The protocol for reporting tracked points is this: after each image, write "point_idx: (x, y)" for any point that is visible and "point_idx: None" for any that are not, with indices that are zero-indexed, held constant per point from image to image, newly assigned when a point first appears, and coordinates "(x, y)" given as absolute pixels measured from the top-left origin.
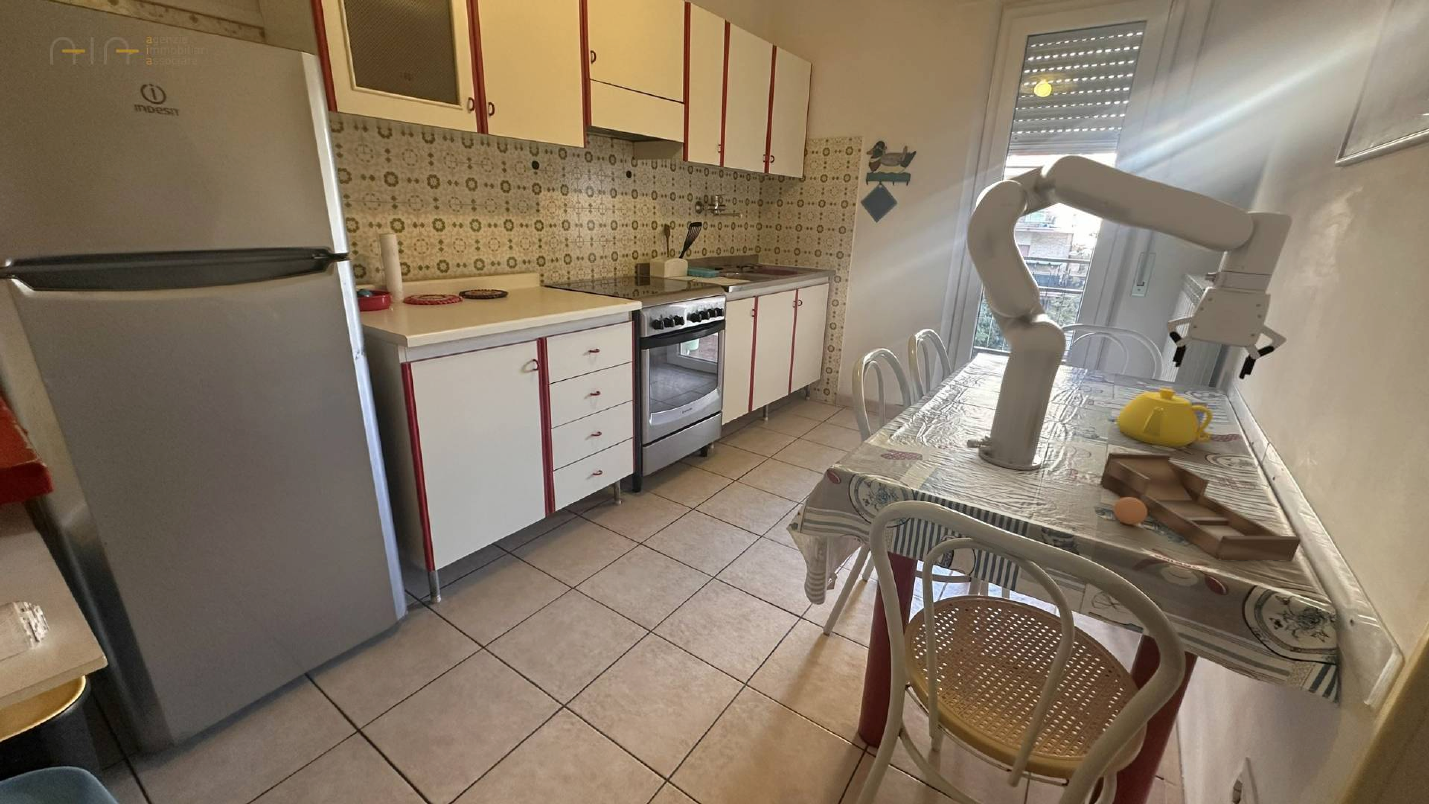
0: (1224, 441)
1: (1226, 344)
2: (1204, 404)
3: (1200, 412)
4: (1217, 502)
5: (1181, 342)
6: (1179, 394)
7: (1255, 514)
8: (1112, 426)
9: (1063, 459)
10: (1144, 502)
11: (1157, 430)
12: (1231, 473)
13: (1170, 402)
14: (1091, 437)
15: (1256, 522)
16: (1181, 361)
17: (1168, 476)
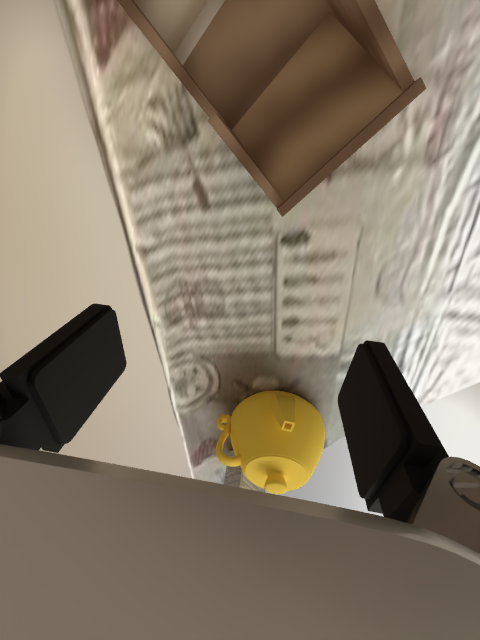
0: (204, 441)
1: (98, 466)
2: None
3: (228, 477)
4: (192, 89)
5: (470, 507)
6: None
7: (151, 185)
8: None
9: (440, 214)
10: None
11: (279, 398)
12: (191, 342)
13: (270, 456)
14: None
15: (126, 10)
16: (361, 378)
17: (275, 154)
